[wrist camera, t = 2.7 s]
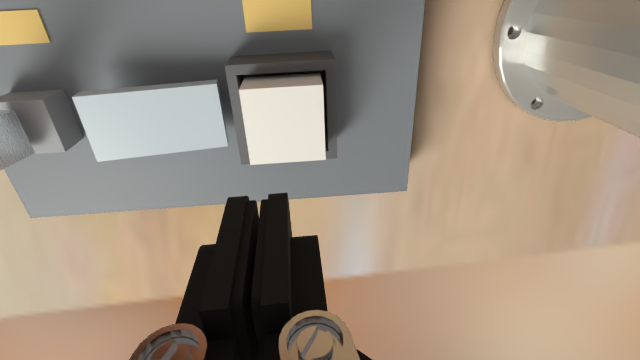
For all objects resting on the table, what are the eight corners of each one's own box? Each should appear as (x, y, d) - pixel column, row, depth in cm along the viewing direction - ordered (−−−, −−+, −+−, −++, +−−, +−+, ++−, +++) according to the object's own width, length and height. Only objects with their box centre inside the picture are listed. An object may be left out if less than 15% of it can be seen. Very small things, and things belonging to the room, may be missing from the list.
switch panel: (411, -38, 21) (447, -43, 16) (395, 170, 28) (417, 210, 23) (-47, -18, 20) (-154, -16, 15) (55, 194, 27) (5, 241, 22)
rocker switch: (217, 79, 20) (216, 83, 19) (228, 139, 21) (228, 146, 20) (79, 91, 18) (72, 97, 18) (103, 154, 20) (97, 161, 19)
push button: (319, 73, 19) (323, 84, 17) (322, 141, 21) (325, 159, 19) (244, 77, 19) (238, 89, 17) (254, 146, 21) (250, 164, 19)
